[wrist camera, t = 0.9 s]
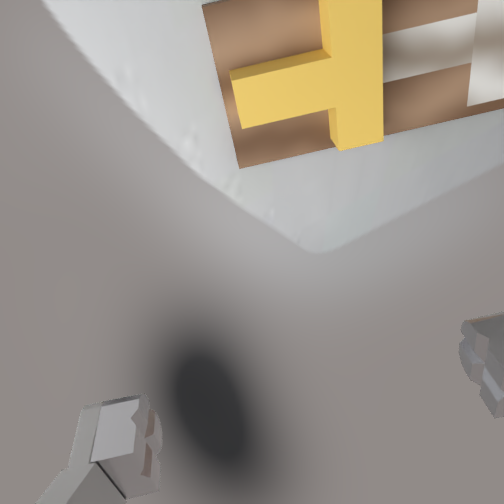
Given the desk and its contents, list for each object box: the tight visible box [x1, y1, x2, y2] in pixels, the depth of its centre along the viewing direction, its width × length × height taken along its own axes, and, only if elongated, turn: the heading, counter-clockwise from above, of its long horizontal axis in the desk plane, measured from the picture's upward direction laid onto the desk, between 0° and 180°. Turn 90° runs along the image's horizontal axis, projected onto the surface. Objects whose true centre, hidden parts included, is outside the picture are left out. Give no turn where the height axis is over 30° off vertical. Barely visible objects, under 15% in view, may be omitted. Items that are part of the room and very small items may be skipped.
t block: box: [229, 0, 383, 151], centre depth 37 cm, size 12×12×3 cm
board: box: [202, 0, 504, 169], centre depth 38 cm, size 14×28×1 cm, turn 101°
